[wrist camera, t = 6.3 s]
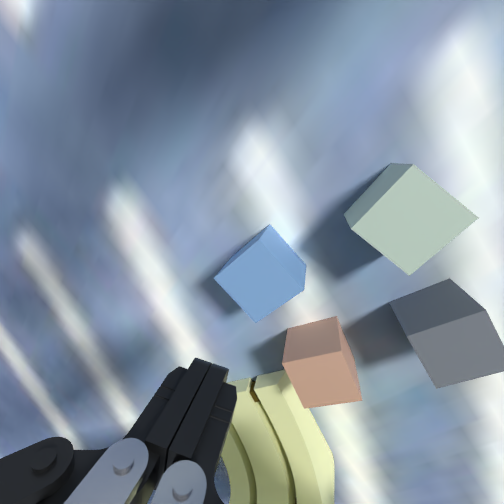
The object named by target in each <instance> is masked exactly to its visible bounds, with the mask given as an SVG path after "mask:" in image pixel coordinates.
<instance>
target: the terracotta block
mask: <svg viewBox="0 0 504 504" xmlns="http://www.w3.org/2000/svg"><path fill="white" fill-rule="evenodd" d="M282 364H283V367H284V369H285V371H286V373H287V375H288V377H289V379H290V381H291V383H292V385H293V387H294V389H295V391H296V393H297V395H298V397H299V399H300V401H301V404H302V406H303V408H304V409H306V408H313V407H320V406H327V405H334V404H341V403H348V402H355V401H362V396H361V391H360V386H359V381H358V376H357V371H356V366H355V361H354V357H353V355H352V352H351V350H350V347H349V345H348V342H347V340H346V338H345V335H344V333H343V330H342V328H341V325H340V323H339V321H338V318H337V316H335V317H331V318H327V319H324V320H320V321H316V322H312V323H308V324H304V325H300V326H296V327H292V328H288V330H287V336H286V342H285V348H284V354H283V360H282Z"/></svg>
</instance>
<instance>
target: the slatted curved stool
mask: <svg viewBox="0 0 504 504" xmlns="http://www.w3.org/2000/svg"><path fill="white" fill-rule="evenodd" d="M228 384H231V385H234V386H236V391H237V402H236V406H235V410H234V414H233V418H232V422H231V425H230V428H229V431H228V435H227V438H226V441H225V444H224V447H223V450H222V453H221V456H222V458H223V461H224V463H225V466H226V469H227V472H228V475H229V480H230V487H231V496H230V502H229V504H334V459H333V455H332V452H331V450H330V448H329V446H328V444H327V442H326V440H325V438H324V437H323V435H322V433H321V431H320V429H319V427H318V425H317V423H316V421H315V419H314V417H313V416H312V414H311V412H310V410H309V408H306V409H304V408H303V406H302V404H301V401H300V399H299V397H298V395H297V393H296V391H295V389H294V387H293V385H292V383H291V381H290V379H289V377H288V375H287V373H286V371H285V370H281V371H276V372H272V373H267V374H263V375H259V376H257V379H256V381H254V382H252V380H251V378H246V379H241V380H237V381H233V382H228Z"/></svg>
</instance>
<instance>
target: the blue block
mask: <svg viewBox="0 0 504 504" xmlns="http://www.w3.org/2000/svg"><path fill="white" fill-rule="evenodd" d="M305 273H306V264H305V263H304V262H303V261H302V260H301V259H300V258H299V257H298V255H297V254H296V253H295V252H294V251H293V250H292V249H291V247H290V246H289V245H288V244H287V243H286V242H285V241H284V240H283V238H282V237H281V236H280V235H279V234H278V233H277V232H276V231H275V229H274V228H273V227H272V226H271V225H270V224H269V225H268V226H267V227H266V228H265V229H264V230H262V231H261V232H260V233H259V234H258V235H257V236H255V237H254V238H253V239H252V240H251V241H250V242H248V243H247V244H246V245H245V246H244V247H243V248H242V249H240V250H239V251H238V252H237V253H236V254H235V255H233V256H232V257H231V258H230V260H229V261H228V262H227V263H226V264H225V265H224V267H223V268H222V269H221V270H220V271H219V272H218V274H217V275H216V276H215V277H214V279H215V280H216V281H217V283H218V284H219V285H220V286H221V287H222V288H223V289H224V290H225V291H226V292H227V293H228V294H229V295H230V296H231V297H232V298H233V300H234V301H235V302H236V303H237V304H238V305H239V306H240V307H241V308H242V309H243V310H244V311H245V312H246V313H247V314H248V315H249V317H250V318H251V319H252V320H253V321H254V322H255V323H257V322H258V321H259V320H261V319H262V318H264V317H265V316H267V315H268V314H270V313H271V312H273V311H274V310H276V309H277V308H278V307H280V306H281V305H283V304H284V303H286V302H287V301H289V300H290V299H292V298H293V297H294V296H296V295H297V294H299V293H300V292H302V291H303V290H304V285H305Z"/></svg>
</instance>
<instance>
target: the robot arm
mask: <svg viewBox="0 0 504 504" xmlns="http://www.w3.org/2000/svg"><path fill="white" fill-rule="evenodd" d="M228 371H229V369H227V368H225V367H222V366H219V365H216V364H212V363H210V362H207V361H204V360H201V359H198V358H195V359H194V360H193V362H192V363H191V365H190V367H189V368H188V369H185V368H182V367H180V366H179V367H178V368H176V369H175V370H173V371H172V372H171V373H169V374H168V375H167V377H166V378H165V380H164V381H163V383H162V384H161V386H160V387H159V389H158V390H157V392H156V393H155V395H154V397H152V399H151V400H150V402H149V403H148V405H147V406H146V408H145V409H144V411H143V412H142V414H141V415H140V417H139V418H138V419H137V421H136V422H135V424H134V425H133V427H132V428H131V430H130V431H129V433H128V434H127V435H126V436H125V437H124V438H123V439H122V440H120V441H118V442H116V443H114V444H113V445H111V446H110V447H108V448H105V449H101V450H73V446H72V444H71V442H70V441H69V440H68V439H66V438H63V437H52V438H48V439H45V440H42V441H40V442H38V443H35V444H33V445H31V446H29V447H26V448H24V449H22V450H19V451H17V452H15V453H12V454H10V455H8V456H6V457H3V458H1V459H0V504H147V502H148V500H149V498H150V496H151V494H152V492H153V490H156V492H155V494H154V497H153V499H152V502H151V504H224V503H223V502H222V501H221V499H220V498H219V496H218V494H217V492H216V488H215V484H214V475H215V472H216V469H217V466H218V463H219V460H220V457H221V453H222V450H223V447H224V444H225V441H226V438H227V435H228V431H229V428H230V425H231V422H232V418H233V414H234V410H235V406H236V402H237V391H236V386H234V385H231V384H228V383H226V380H227V376H228Z"/></svg>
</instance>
